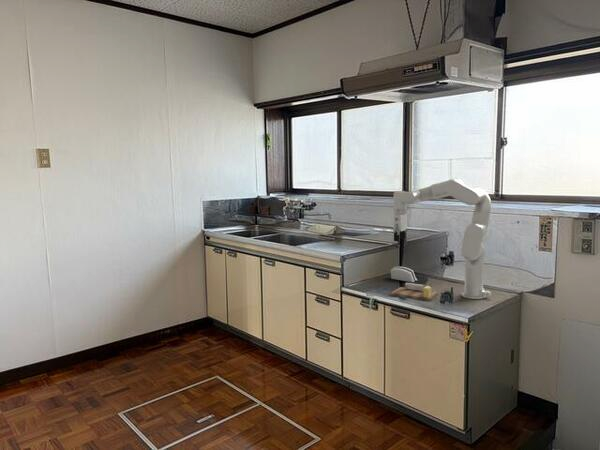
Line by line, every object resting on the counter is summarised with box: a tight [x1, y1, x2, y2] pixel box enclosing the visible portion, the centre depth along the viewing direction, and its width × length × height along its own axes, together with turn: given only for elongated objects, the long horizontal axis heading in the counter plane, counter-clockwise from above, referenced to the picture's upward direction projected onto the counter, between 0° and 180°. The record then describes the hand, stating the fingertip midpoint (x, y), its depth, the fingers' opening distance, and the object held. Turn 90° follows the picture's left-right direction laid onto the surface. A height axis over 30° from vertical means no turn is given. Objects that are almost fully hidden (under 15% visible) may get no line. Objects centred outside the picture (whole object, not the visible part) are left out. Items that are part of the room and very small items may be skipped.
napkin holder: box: [390, 266, 418, 283], centre depth 293 cm, size 17×5×10 cm, turn 45°
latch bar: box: [404, 282, 430, 291], centre depth 265 cm, size 14×3×3 cm, turn 55°
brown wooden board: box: [390, 286, 440, 302], centre depth 261 cm, size 23×14×2 cm, turn 55°
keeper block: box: [423, 285, 432, 298], centre depth 253 cm, size 3×4×5 cm
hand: (399, 239), depth 276 cm, fingers open, 9 cm apart
